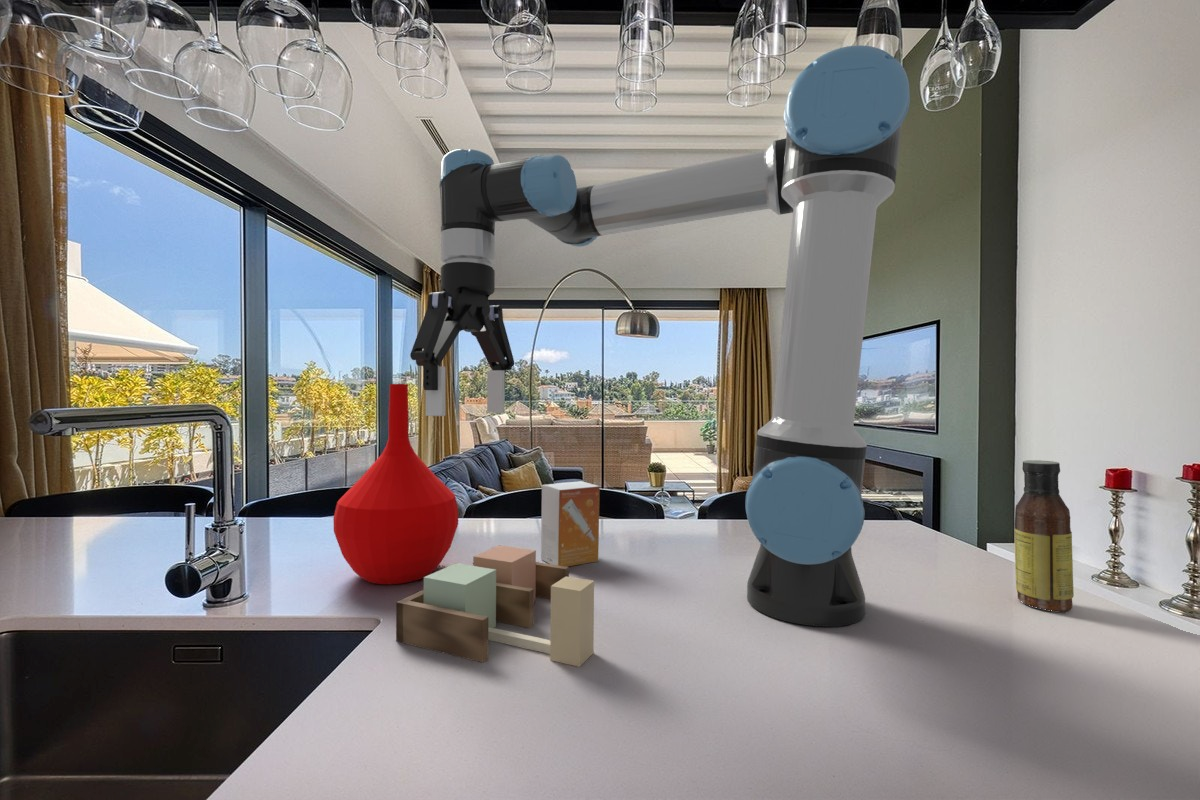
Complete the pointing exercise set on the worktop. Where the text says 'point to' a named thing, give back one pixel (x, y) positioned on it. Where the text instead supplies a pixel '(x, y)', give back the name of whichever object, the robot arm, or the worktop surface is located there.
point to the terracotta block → (510, 565)
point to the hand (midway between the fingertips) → (468, 414)
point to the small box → (570, 523)
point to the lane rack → (471, 617)
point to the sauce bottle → (1043, 540)
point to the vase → (396, 510)
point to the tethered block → (566, 644)
